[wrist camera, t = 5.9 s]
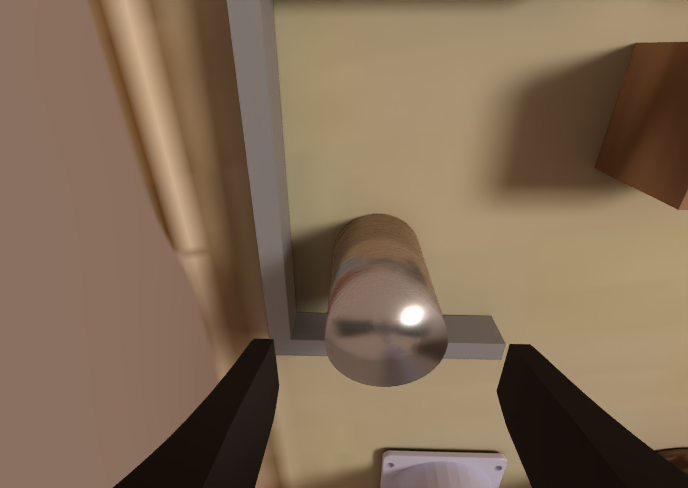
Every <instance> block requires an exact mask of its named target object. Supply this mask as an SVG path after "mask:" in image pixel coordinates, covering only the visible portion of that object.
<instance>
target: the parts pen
mask: <svg viewBox="0 0 688 488" xmlns="http://www.w3.org/2000/svg"><path fill="white" fill-rule="evenodd" d="M227 7H228V15H229V23H230V31H231V39H232V47H233V55H234V63H235V71H236V79H237V86H238V94H239V102H240V110H241V118H242V126H243V134H244V142H245V150H246V158H247V166H248V174H249V181H250V189H251V197H252V205H253V213H254V221H255V229H256V237H257V245H258V253H259V261H260V269H261V277H262V284H263V292H264V300H265V308H266V316H267V324H268V332H269V339H274V346H275V355H294V356H328V355H327V353H326V349H325V331H326V322H327V313H297V311H296V298H295V285H294V272H293V259H292V246H291V233H290V220H289V206H288V193H287V180H286V167H285V154H284V141H283V128H282V115H281V102H280V89H279V76H278V63H277V50H276V37H275V24H274V10H273V0H227ZM442 316H443V319H444V322H445V325H446V328H447V332H448V346H447V349H446V353H445V355H444V357H443V359H487V360H501V359H502V355H503V352H504V348H505V345H506V344H505V342H504V340H503V338H502V336H501V334H500V332H499V330H498V328H497V326H496V324H495V322H494V320H493V318H492V316H457V315H442Z"/></svg>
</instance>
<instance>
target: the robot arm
mask: <svg viewBox="0 0 688 488" xmlns="http://www.w3.org/2000/svg"><path fill="white" fill-rule="evenodd" d="M278 390H279V380H278V372H277V363H276V355H275V346H274V339H253V340H252V341H251V342H250V343H249V345H248V346H247V348H246V349H245V350H244V352H243V353H242V354H241V356H240V357H239V358H238V360H237V361H236V362H235V364H234V365H233V366H232V367H231V369H230V370H229V371H228V372H227V374H226V375H225V376H224V377H223V379H222V380H221V381H220V382H219V383H218V385H217V386H216V387H215V388H214V390H213V391H212V392H211V393H210V394H209V395H208V397H207V398H206V399H205V400H204V401H203V402H202V403H201V404H200V405H199V407H198V408H197V409H196V410H195V411H194V412H193V413H192V414H191V415H190V416H189V418H188V419H187V420H186V421H185V422H184V423H183V424H182V425H181V426H180V427H179V428H178V429H177V430H176V431H175V432H174V433H173V434H172V435H171V436H170V437H169V438H168V439H167V440H166V441H165V442H164V443H163V444H162V445H161V446H159V448H157V449H156V450H155V451H154V452H153V453H152V454H151V455H150V456H149V457H148V458H146V459H145V460H144V461H143V462H142V463H141V464H140V465H139V466H137V467H136V468H135V469H134V470H133V471H132V472H131V473H130V474H128V475H127V476H126V477H125V478H124V479H123V480H121V481H120V482H119V483H118V484H117V485H115V486H114V487H113V488H255V485H256V481H257V478H258V474H259V471H260V467H261V463H262V460H263V456H264V453H265V449H266V446H267V442H268V438H269V435H270V431H271V427H272V424H273V420H274V415H275V409H276V403H277V397H278ZM497 395H498V398H499V402H500V406H501V409H502V413H503V416H504V419H505V423H506V426H507V428H508V431H509V433H510V436H511V438H512V441H513V443H514V445H515V448H516V450H517V453H518V455H519V457H520V460H521V462H522V465H523V467H524V469H525V472H526V474H527V476H528V479H529V481H530V484H531V486H532V488H688V475H687V474H686V473H684V472H683V471H682V470H680V469H679V468H677V467H676V466H675V465H673V464H672V463H671V462H669V461H668V460H666V459H665V458H664V457H662V456H661V455H660V454H658V453H657V452H655V451H654V450H653V449H651V448H650V447H649V446H647V445H646V444H645V443H644V442H642V441H641V440H640V439H638V438H637V437H636V436H635V435H633V434H632V433H631V432H630V431H628V430H627V429H626V428H625V427H623V426H622V425H621V424H620V423H618V422H617V421H616V420H615V419H614V418H612V417H611V416H610V415H609V414H608V413H606V412H605V411H604V410H603V409H602V408H600V407H599V406H598V405H597V404H596V403H595V402H594V401H592V400H591V399H590V398H589V397H588V396H587V395H586V394H584V393H583V392H582V391H581V390H580V389H579V388H578V387H577V386H575V385H574V384H573V383H572V382H571V381H570V380H569V379H568V378H567V377H566V376H564V375H563V374H562V373H561V372H560V371H559V370H558V369H557V368H556V367H555V366H554V365H552V364H551V363H550V362H549V361H548V360H547V359H546V358H545V357H544V356H543V355H542V354H540V353H539V352H538V351H537V350H536V349H535V348H534V347H533V346H531V345H530V344H510V345H509V349H508V352H507V356H506V360H505V363H504V367H503V370H502V374H501V378H500V381H499V385H498V388H497ZM506 465H507V459H506V457H505V455H503V454H500V453H466V452H429V451H391V450H390V451H386V452H384V453H383V456H382V468H381V480H380V488H499V485H500V482H501V480H502V477H503V474H504V471H505V468H506Z"/></svg>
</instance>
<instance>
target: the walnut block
mask: <svg viewBox="0 0 688 488" xmlns="http://www.w3.org/2000/svg"><path fill="white" fill-rule="evenodd" d="M595 168H596V169H598V170H600V171H602V172H604V173H606V174H608V175H610V176H612V177H614V178H616V179H618V180H620V181H622V182H624V183H626V184H628V185H630V186H632V187H634V188H636V189H638V190H640V191H642V192H644V193H646V194H648V195H650V196H652V197H654V198H656V199H658V200H660V201H662V202H664V203H666V204H668V205H670V206H672V207H674V208H676V209H678V210H688V42H657V43H636V44H635V47H634V50H633V53H632V56H631V59H630V62H629V65H628V68H627V72H626V75H625V78H624V81H623V84H622V87H621V90H620V93H619V96H618V99H617V102H616V105H615V108H614V111H613V114H612V117H611V120H610V123H609V126H608V129H607V132H606V135H605V138H604V141H603V144H602V147H601V150H600V153H599V156H598V159H597V162H596V165H595Z"/></svg>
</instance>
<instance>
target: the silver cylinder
mask: <svg viewBox="0 0 688 488" xmlns="http://www.w3.org/2000/svg"><path fill="white" fill-rule="evenodd" d="M447 346H448V332H447V328H446V325H445V322H444V319H443V316H442V313H441V309H440V306H439V303H438V300H437V297H436V294H435V291H434V288H433V285H432V282H431V279H430V276H429V273H428V269H427V266H426V263H425V260H424V257H423V254H422V251H421V248H420V245H419V242H418V239H417V236H416V234H415V233H414V231H413V230H412V229H411V227H410V226H409V225H408V224H406V223H405V222H404V221H402V220H400V219H399V218H396V217H394V216H391V215H387V214H369V215H365V216H362V217H359V218H357V219H355V220H353V221H352V222H350V223H349V224H347V225H346V226H345V227H344V228H343V230H342V231H341V232H340V234H339V235H338V237H337V239H336V242H335V246H334V256H333V265H332V275H331V284H330V294H329V303H328V313H327V322H326V331H325V349H326V353H327V355H328V358H329V359H330V361H331V363H332V364H333V365H334V366H335V368H336V369H337V370H338V371H340V372H341V373H342V374H344V375H345V376H346V377H348V378H350V379H352V380H354V381H357V382H359V383H362V384H366V385H371V386H379V387H390V386H398V385H403V384H407V383H410V382H413V381H416V380H418V379H420V378H422V377H424V376H425V375H427V374H428V373H430V372H431V371H432V370H433V369H434V368H435V367H436V366H437V365H438V364H439V363H440V361H441V360H442V359H443V357H444V355H445V353H446V349H447Z"/></svg>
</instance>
